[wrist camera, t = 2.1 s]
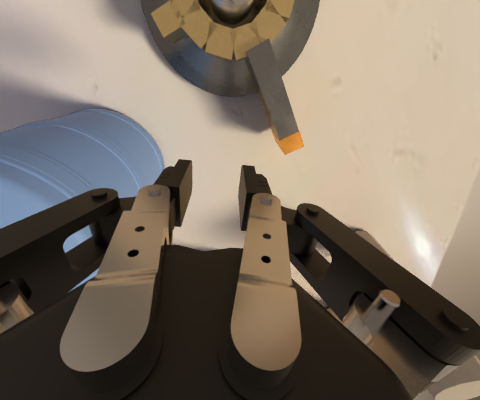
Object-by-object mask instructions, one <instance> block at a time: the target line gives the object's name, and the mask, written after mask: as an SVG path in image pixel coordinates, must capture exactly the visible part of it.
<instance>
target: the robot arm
mask: <svg viewBox="0 0 480 400" xmlns="http://www.w3.org/2000/svg"><path fill="white" fill-rule="evenodd" d="M191 192H192V161H191V160H181V159H179V160H178V162H177V163H176V165H175V167H171V166H169V167H167V168H165V169H163V171H162V172H161V174H160V175H159V178H157V180H156V181H155V183H154V184H153V185H148V186H144V187H142V188H141V189H139V191H138V193H137V196H135V197H126V198H119V196H118V192H117V191H116V190H114V189H111V188H98V189H93V190H90V191H87V192H85V193H82V194H80V195H78V196H75V197H73V198H71V199H68V200H66V201H64V202H61V203H59V204H57V205H54V206H52V207H50V208H47V209H45V210H43V211H40V212H38V213H36V214H33V215H31V216H29V217H26V218H24V219H22V220H19V221H17V222H15V223H12V224H10V225H8V226H6V227H3V228H1V229H0V400H413V399H414V398H415V397H416V396H417V395H418V394H419V393H421V392H423V391H425V390H426V389H427V388H429V387H430V386H432V385H433V384H435V383H436V382H438V381H439V380H440V379H442V378H443V377H445V376H446V375H448V374H449V373H450V372H452V371H453V370H455V369H456V368H458V367H459V366H461V365H462V364H463V363H465V362H466V361H468V360H469V359H471V358H472V357H473V356H475V355H476V354H478V353H479V352H480V326H479V325H478V324H477V323H476V322H475V321H474V320H473V319H472V318H471V317H470V316H469V315H467V314H466V313H465V312H463V311H462V310H461V309H459V308H458V307H457V306H455V305H454V304H453V303H451V302H450V301H448V300H447V299H446V298H444V297H443V296H442V295H440V294H439V293H437V292H436V291H435V290H433V289H432V288H431V287H429V286H428V285H427V284H425V283H424V282H422V281H421V280H420V279H418V278H417V277H416V276H414V275H413V274H411V273H410V272H409V271H407V270H406V269H405V268H403V267H402V266H400V265H399V264H398V263H396V262H395V261H394V260H392V259H391V258H390V257H388V256H387V255H385V254H384V253H383V252H381V251H380V250H379V249H377V248H376V247H374V246H373V245H372V244H370V243H369V242H368V241H366V240H365V239H363V238H362V237H361V236H359V235H358V234H357V233H355V232H354V231H353V230H351V229H350V228H348V227H347V226H346V225H344V224H343V223H342V222H340V221H339V220H337V219H336V218H335V217H333V216H332V215H331V214H329V213H328V212H326V211H325V210H324V209H322V208H321V207H319V206H316V205H313V204H308V203H304V204H300V205H298V207H297V210H292V209H288V208H285V207H283V206H281V202H280V199H279V198H278V197H276V196H274V195H272V193H271V190H270V187H269V184H268V182H267V179H266V178H265V177H264V176H263V175H262V174H256V172H255V168H254V166H247V165H242V168H241V176H240V184H239V195H238V198H239V211H240V224H241V230H242V231H246V237H245V243H244V249H243V248H227V249H220V250H213V251H200V250H196V249H192V248H188V247H184V246H180V245H172V244H173V229H174V226H177V227H181V225H182V222H183V218H184V215H185V212H186V209H187V206H188V203H189V199H190V196H191ZM88 225H89V228H90V231H91V234H92V237H90V238H88V239H87V240H85V241H84V242H82V243H80V244H79V245H77V246H76V247H74V248H72V249H71V250H69V251H68V252H66V253H65V252H64V249H63V244H64V242H65V240H66V239H67V238H68V237H69V236H71V235H72V234H74V233H76V232H78V231H79V230H81V229H83V228H85V227H86V226H88ZM317 241H318V242H320V243H321V244H322V245H323V246H324V247H325V248H326V249H327V250H328V251H329V252H330V254H331V257H332V262H331V264H330V263H329V262H328V261H327V260H326V259H325V258H324V257H323V256H322V255H321V254H320V253H319V252H318V251H317V250H316V249H315V246H316V244H317ZM290 262H291V263H292V264H293V265H294V266H295V267H296V269H297V270H298V271H299V272H300V273H301V274H302V276H303V277H304V278H305V279H306V280H307V281H308V283H309V284H310V285H311V286H312V287H313V288H314V290H315V291H316V292H317V293H318V294H319V296H320V297H321V298H322V299H323V300H324V301H325V303H326V304H327V305H328V306H329V307H330V308H331V310H332V311H333V312H334V313H335V314H336V315H337V317H338V318H339V319H340V320H341V321H342V322H343V324H342V323H341V322H340V321H339V320H338V319H336V318H335V317H334V316H333V315H332V314H331V313H330V312H329V311H327V310H326V309H325V308H324V307H323V306H322V305H321V304H320V303H319V302H317V301H316V300H315V299H314V298H313V297H312V296H311V295H310V294H309V293H307V292H306V291H305V290H304V289H303V288H302V287H301V286H300V285H299V284H297V283H296V282H295V281H294V280H293V279H292V278H291V269H290ZM98 268H99V270H98V272H97V274H96V276H94V277H93V278H91V279H89V280H88V281H86V282H85V283H83V284H81V285H80V286H78V287H76V286H77V285H78V284H79V283H81V282H82V281H83V280H84V279H86V278H87V277H88V276H90V275H91V274H92V273H93V272H95V271H96V270H97V269H98ZM74 287H76V288H75V289H73V288H74ZM72 289H73V290H72ZM70 290H71V291H70ZM69 291H70V292H69Z"/></svg>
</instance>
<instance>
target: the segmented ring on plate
mask: <svg viewBox="0 0 480 400" xmlns="http://www.w3.org/2000/svg"><path fill="white" fill-rule="evenodd" d="M294 1H295V0H263V3H262V8H261V11H260V12H259V14H258V15H257V16H256V17H255V19H254V20H253V21H252V22H251V23H248V24H245V25H243V26H240V27H237V28H234V29H232V28H229V27H226V26H223V25H220V24H217V23H214V22H213V21H212V19H211V18H210V17H209V16H208V15H207V13H206V12H205V11H204V10H203V9H202V7H201V4H200V0H169V1H168V2H167V3H165V4H164V5H162V6H161V7H159V8H158V9H156V10H155V11H153V12H152V13H151V15H152V17H153V19H154V21H155V23H156V24H157V26H158V28H159V30H160V32H161V34H162V36H163V38H165V39H167V40H169V41H170V42H172V43H174V44H176V43H177V42H179V41H180V40H182V39H184V38H185V37H187V36H188V35H189V36H190V37H191V39H192V40H193V41H194V42H195V43H196V44H197V45H198V46H199V47H200V48H201V49H202V50H203V51H204V52H205V53H207V54H208V55H209V56H212V57H215V58H219V59H222V60H225V61H228V62H231V59H232V54H233V56H234V60H235V62H237V61H240V60H243V59H245V62H246V64H247V67H248V70H249V72H250V75H251V77H252V80H253V83H254V85H255V88H256V90H257V93H258V96H259V98H260V101H261V103H262V106H263V109H264V111H265V114H266V116H267V119H268V121H269V124H270V127H271V129H272V133H273V135H274V138H275V141H276V143H277V144H278V146H279V147H280V149H281V150H282V151H283V153H284V154H285V155H286V154H288V153H290V152H292V151H295V150H297V149H299V148H301V147H303V146H304V144H303V141H302V138H301V135H300V132H299V130H298V127H297V124H296V121H295V118H294V115H293V112H292V108H291V105H290V102H289V99H288V96H287V93H286V90H285V87H284V83H283V80H282V77H281V74H280V71H279V68H278V65H277V62H276V58H275V55H274V52H273V49H272V46H271V42H272V41H273V39H274V38H275V37H276V36H277V35H278V33H279V32H280V31H281V30H282V29H283V28H284V26H285V25H286V23H285V22H286V21H287V20H288V19H289V18H290V14H291V11H292V8H293V4H294Z"/></svg>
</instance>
